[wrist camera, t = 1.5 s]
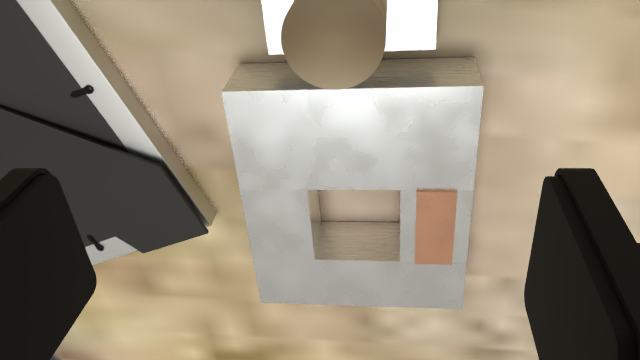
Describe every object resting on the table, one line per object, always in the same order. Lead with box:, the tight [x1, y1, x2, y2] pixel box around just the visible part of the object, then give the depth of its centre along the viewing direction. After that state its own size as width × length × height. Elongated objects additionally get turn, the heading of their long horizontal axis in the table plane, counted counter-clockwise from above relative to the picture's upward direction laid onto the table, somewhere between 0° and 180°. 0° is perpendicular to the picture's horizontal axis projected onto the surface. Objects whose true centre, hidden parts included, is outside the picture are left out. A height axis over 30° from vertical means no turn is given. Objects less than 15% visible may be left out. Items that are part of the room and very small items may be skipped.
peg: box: [281, 0, 387, 90], centre depth 22 cm, size 4×4×7 cm
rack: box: [222, 0, 484, 309], centre depth 28 cm, size 21×12×4 cm, turn 4°
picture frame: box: [0, 0, 217, 266], centre depth 32 cm, size 16×3×21 cm
